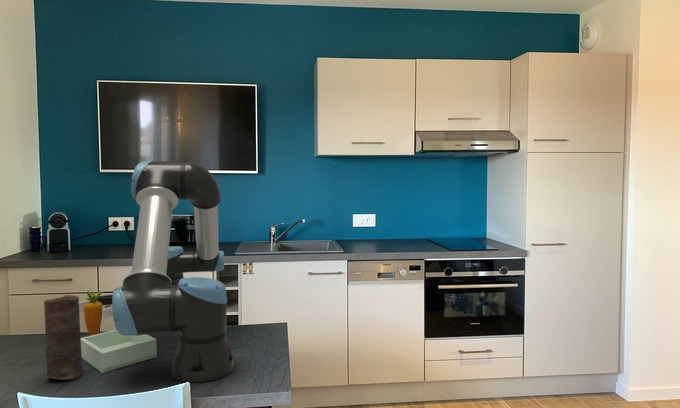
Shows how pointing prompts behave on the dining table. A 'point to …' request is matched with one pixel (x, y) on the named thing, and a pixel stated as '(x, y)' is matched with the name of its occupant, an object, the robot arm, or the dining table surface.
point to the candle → (63, 337)
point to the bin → (117, 350)
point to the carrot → (93, 313)
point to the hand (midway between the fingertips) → (89, 310)
